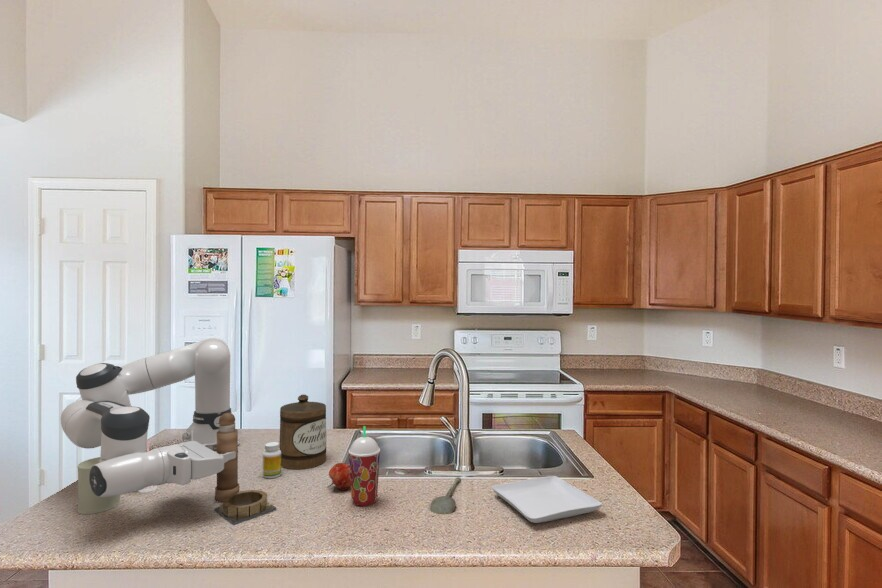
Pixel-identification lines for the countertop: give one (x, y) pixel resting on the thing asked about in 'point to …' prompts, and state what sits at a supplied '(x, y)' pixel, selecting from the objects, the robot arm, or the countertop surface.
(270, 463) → the supplement bottle
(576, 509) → the salad plate
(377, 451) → the smoothie
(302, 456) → the wooden container
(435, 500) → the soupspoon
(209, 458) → the robot arm
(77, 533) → the countertop surface
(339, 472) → the pomegranate
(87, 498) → the can
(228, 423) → the pepper mill
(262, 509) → the collar socket
